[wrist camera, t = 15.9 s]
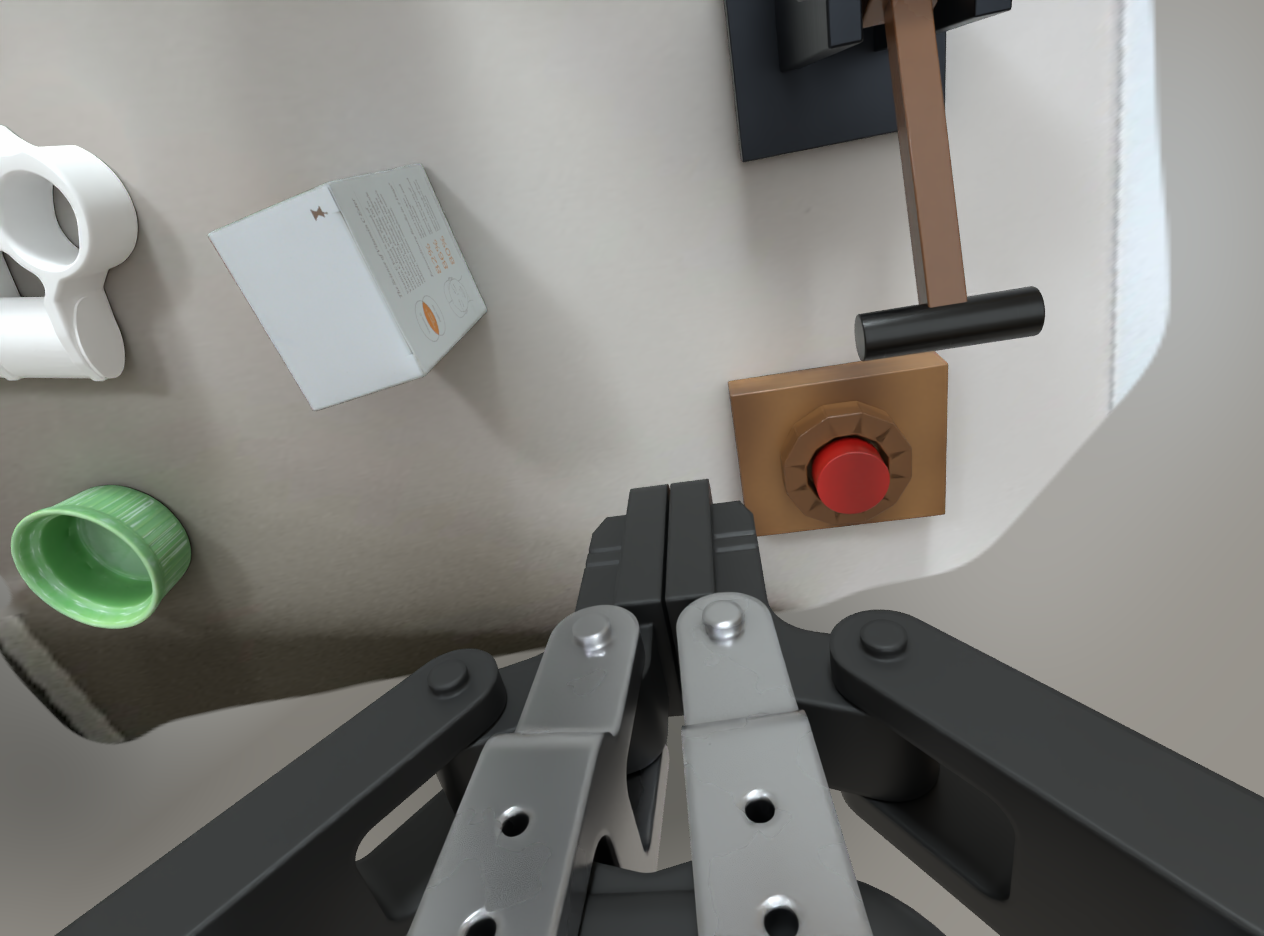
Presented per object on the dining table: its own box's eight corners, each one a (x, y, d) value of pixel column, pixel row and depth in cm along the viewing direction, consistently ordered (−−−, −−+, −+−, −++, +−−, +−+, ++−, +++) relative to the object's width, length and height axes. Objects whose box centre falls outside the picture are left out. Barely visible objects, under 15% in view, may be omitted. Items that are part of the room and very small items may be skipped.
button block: (745, 517, 42) (751, 554, 38) (727, 380, 38) (731, 408, 34) (932, 494, 40) (956, 531, 37) (934, 349, 36) (960, 374, 33)
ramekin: (226, 575, 47) (185, 616, 43) (120, 598, 49) (70, 640, 45) (152, 462, 43) (99, 496, 39) (39, 491, 45) (-23, 527, 41)
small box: (329, 199, 35) (198, 228, 26) (424, 160, 34) (324, 177, 24) (401, 343, 38) (309, 416, 29) (491, 312, 37) (425, 378, 28)
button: (813, 501, 37) (819, 518, 35) (808, 442, 35) (814, 457, 34) (882, 493, 36) (890, 509, 35) (880, 432, 35) (889, 447, 33)
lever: (1019, 340, 21) (1056, 329, 19) (855, 365, 22) (870, 358, 20) (970, -91, 21) (1001, -157, 18) (802, -50, 21) (811, -109, 19)
